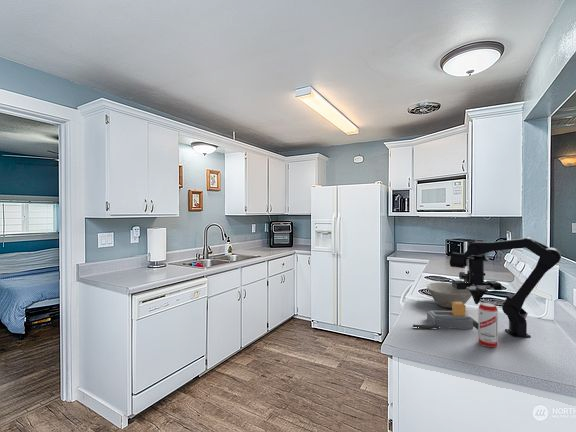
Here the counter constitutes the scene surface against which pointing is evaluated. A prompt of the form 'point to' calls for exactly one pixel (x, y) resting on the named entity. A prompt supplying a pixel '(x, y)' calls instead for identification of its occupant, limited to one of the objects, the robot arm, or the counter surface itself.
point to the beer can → (488, 324)
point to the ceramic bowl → (447, 294)
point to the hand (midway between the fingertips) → (476, 303)
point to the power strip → (449, 319)
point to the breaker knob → (458, 309)
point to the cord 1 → (426, 326)
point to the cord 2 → (474, 322)
